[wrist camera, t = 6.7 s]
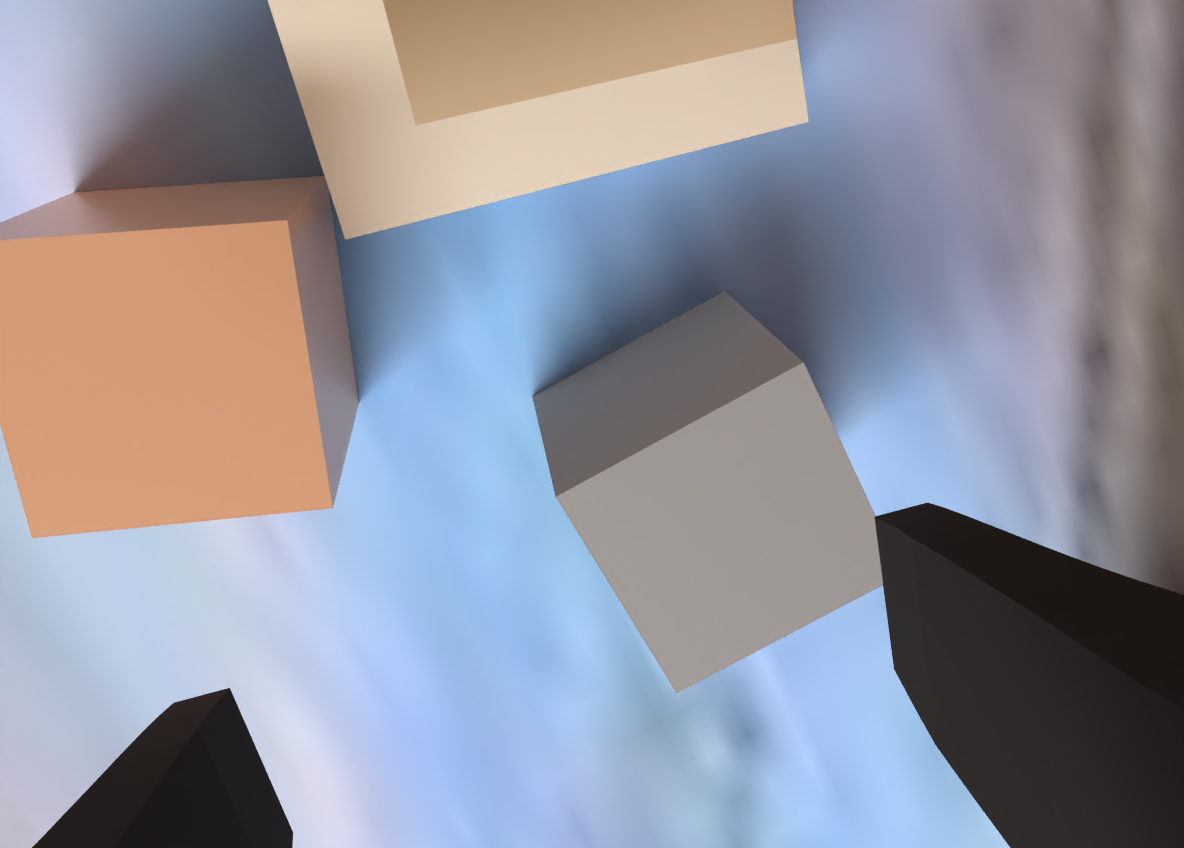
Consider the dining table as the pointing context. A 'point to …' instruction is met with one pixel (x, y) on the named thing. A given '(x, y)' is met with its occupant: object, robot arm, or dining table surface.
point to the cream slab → (505, 119)
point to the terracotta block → (174, 355)
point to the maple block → (561, 44)
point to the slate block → (710, 488)
